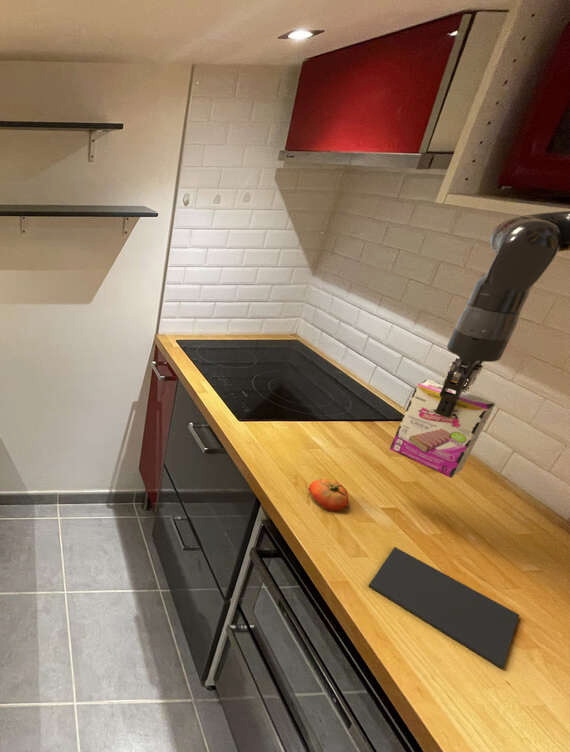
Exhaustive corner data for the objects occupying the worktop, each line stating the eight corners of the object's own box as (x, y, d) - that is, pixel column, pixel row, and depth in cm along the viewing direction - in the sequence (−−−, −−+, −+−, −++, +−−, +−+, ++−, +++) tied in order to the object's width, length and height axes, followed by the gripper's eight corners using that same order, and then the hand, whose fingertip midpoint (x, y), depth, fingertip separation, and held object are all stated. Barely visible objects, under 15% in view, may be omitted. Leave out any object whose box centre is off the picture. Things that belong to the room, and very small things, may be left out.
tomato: (310, 503, 98) (319, 472, 100) (299, 502, 105) (307, 473, 106) (350, 518, 96) (358, 486, 98) (336, 517, 103) (344, 486, 104)
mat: (517, 616, 76) (519, 614, 76) (501, 669, 69) (503, 667, 68) (393, 548, 89) (394, 546, 89) (368, 586, 81) (369, 584, 81)
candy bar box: (387, 450, 96) (415, 383, 90) (398, 443, 99) (426, 377, 92) (452, 480, 88) (487, 408, 81) (462, 471, 90) (497, 401, 83)
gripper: (466, 317, 88) (434, 392, 95) (445, 333, 80) (411, 413, 87) (518, 328, 82) (480, 407, 89) (501, 346, 75) (461, 431, 82)
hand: (446, 410), depth 88 cm, fingers closed on candy bar box, 5 cm apart
